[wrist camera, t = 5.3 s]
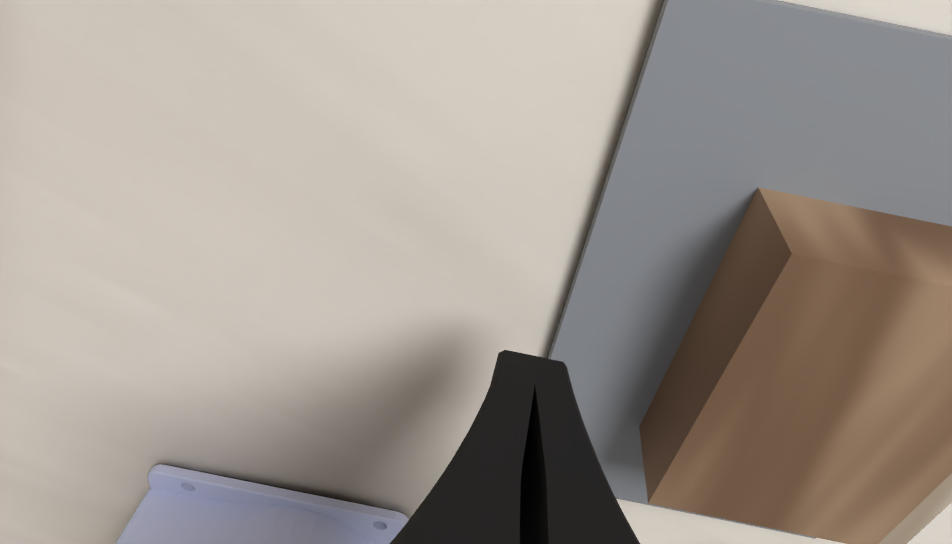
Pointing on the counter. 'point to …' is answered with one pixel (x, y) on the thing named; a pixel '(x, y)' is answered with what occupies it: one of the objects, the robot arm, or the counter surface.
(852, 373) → the slab
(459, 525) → the robot arm
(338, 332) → the counter surface
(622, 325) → the mat
